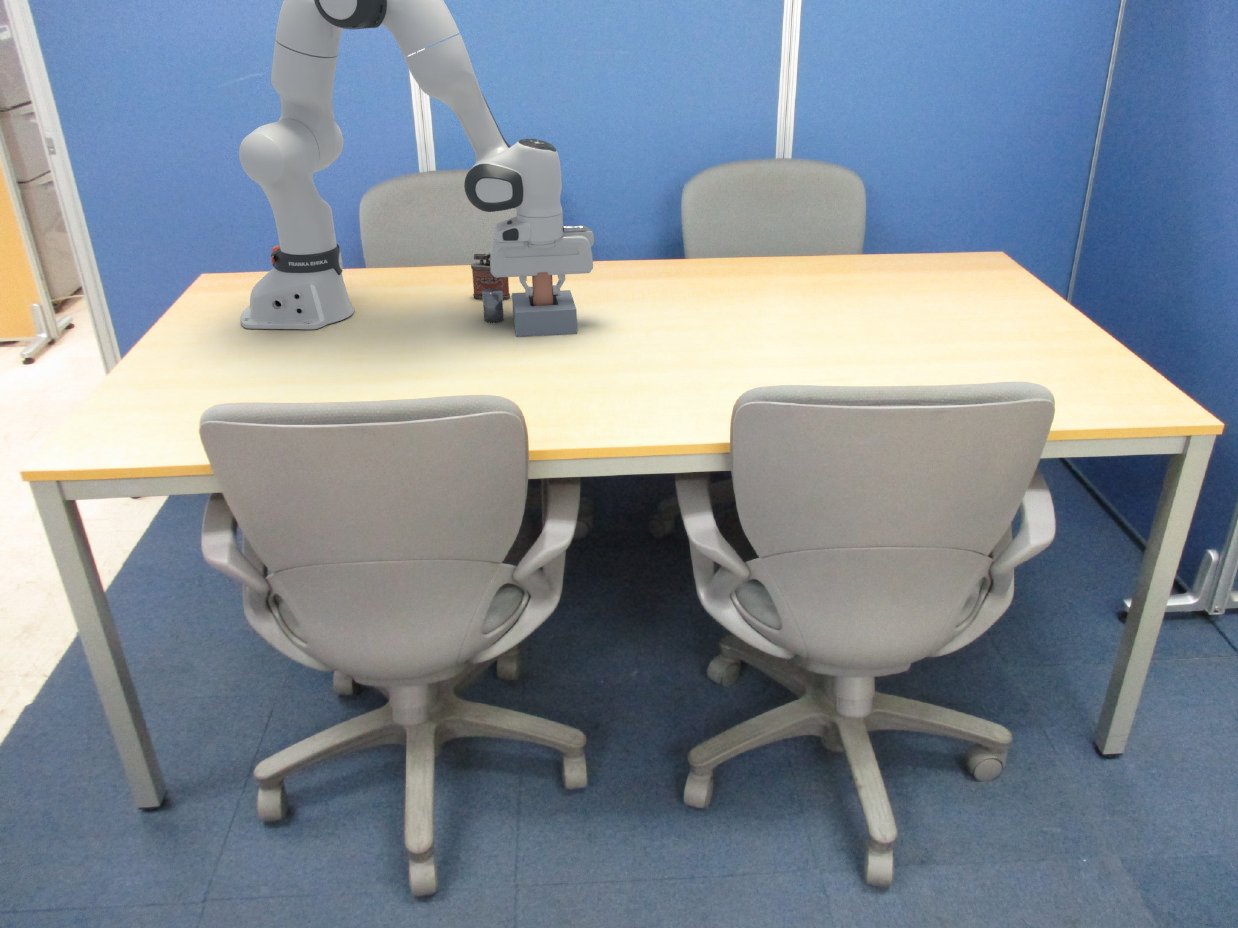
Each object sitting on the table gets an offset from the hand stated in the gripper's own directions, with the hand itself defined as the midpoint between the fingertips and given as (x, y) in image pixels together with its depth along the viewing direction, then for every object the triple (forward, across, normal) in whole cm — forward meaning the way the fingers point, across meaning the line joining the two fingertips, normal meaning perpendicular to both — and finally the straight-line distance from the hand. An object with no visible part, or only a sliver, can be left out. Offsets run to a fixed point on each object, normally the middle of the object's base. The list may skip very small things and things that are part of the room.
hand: (542, 296), depth 197 cm
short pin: (+6, +10, -4) cm, 12 cm away
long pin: (+6, 0, 0) cm, 6 cm away
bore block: (+6, 0, 0) cm, 6 cm away
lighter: (+6, +10, -18) cm, 22 cm away
